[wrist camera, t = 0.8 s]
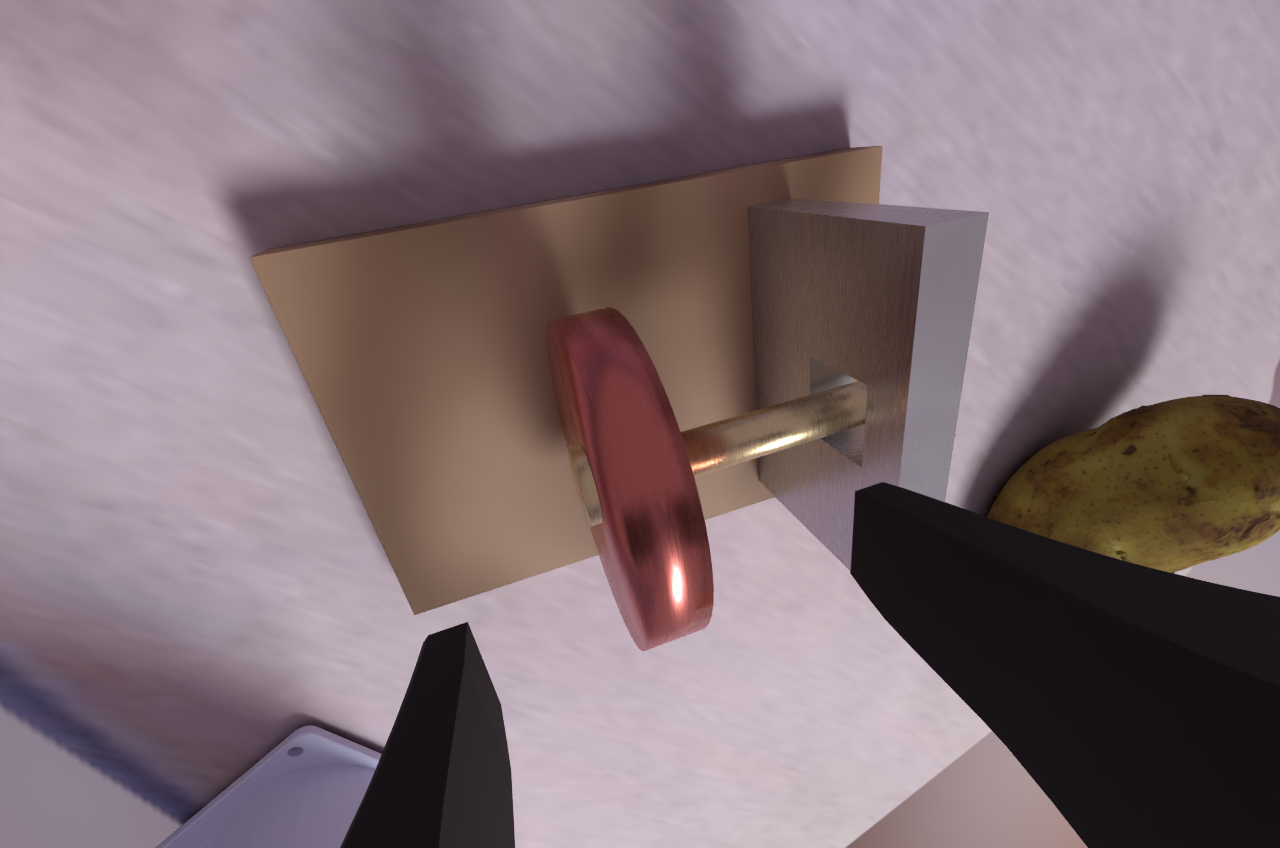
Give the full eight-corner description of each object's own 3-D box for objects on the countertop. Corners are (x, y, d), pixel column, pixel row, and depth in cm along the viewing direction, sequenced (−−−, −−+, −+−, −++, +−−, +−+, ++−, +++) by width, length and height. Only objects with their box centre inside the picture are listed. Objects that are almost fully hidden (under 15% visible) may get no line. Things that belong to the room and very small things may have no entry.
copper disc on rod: (862, 220, 17) (1144, 252, 10) (851, 438, 21) (1052, 570, 14) (519, 292, 15) (584, 398, 8) (575, 524, 18) (653, 735, 11)
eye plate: (790, 197, 17) (988, 212, 11) (793, 470, 21) (931, 588, 15) (747, 206, 16) (925, 226, 10) (759, 481, 21) (886, 606, 15)
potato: (936, 482, 27) (1108, 590, 20) (1143, 339, 27) (1381, 396, 20) (963, 579, 31) (1112, 697, 24) (1141, 454, 31) (1337, 534, 24)
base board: (851, 147, 18) (882, 145, 17) (839, 452, 24) (861, 468, 22) (266, 249, 14) (249, 257, 13) (416, 585, 20) (414, 615, 18)
